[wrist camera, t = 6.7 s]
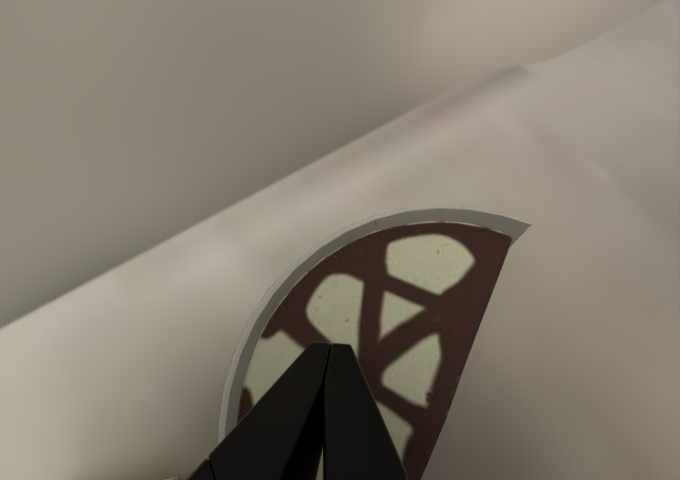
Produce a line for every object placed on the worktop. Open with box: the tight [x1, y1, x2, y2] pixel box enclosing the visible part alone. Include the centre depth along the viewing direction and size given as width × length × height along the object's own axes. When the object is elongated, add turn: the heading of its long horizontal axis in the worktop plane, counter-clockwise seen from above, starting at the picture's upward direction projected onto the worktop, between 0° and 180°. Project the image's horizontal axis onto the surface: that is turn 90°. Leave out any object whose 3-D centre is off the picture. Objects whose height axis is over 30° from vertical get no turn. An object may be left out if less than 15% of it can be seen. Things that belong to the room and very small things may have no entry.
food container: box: [218, 205, 532, 480], centre depth 15 cm, size 12×6×10 cm, turn 154°
